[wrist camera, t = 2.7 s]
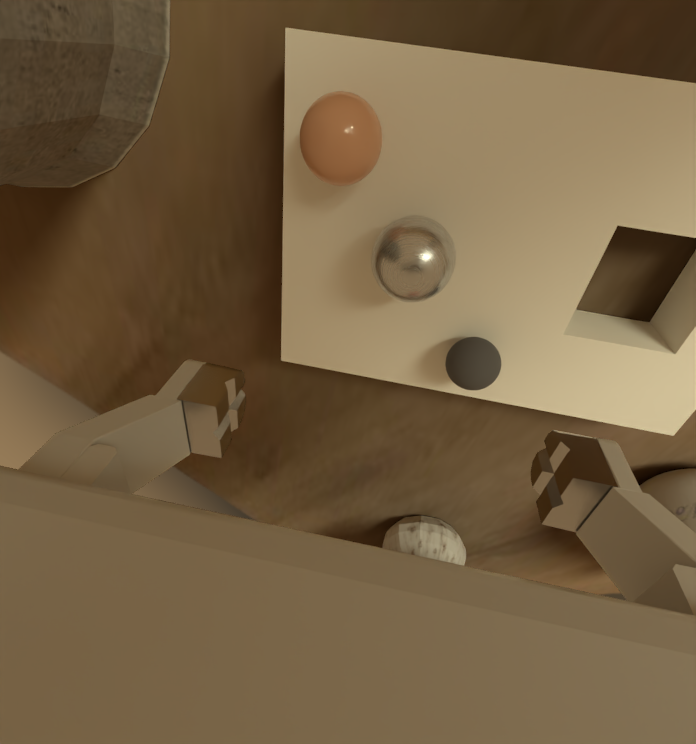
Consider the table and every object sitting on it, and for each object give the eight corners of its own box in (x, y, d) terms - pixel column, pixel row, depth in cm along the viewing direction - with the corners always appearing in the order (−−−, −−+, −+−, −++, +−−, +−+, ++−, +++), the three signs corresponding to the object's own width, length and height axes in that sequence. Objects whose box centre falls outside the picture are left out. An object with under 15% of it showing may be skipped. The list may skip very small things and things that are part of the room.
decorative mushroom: (406, 581, 48) (397, 751, 36) (328, 514, 43) (286, 688, 31) (522, 554, 41) (557, 752, 29) (446, 470, 36) (451, 671, 24)
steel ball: (463, 212, 20) (469, 240, 17) (443, 287, 23) (444, 324, 19) (382, 198, 20) (372, 224, 17) (370, 274, 23) (360, 309, 20)
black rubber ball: (505, 332, 24) (513, 362, 21) (488, 373, 25) (494, 406, 23) (452, 322, 24) (454, 351, 21) (439, 364, 26) (439, 395, 23)
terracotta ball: (392, 94, 18) (384, 100, 15) (379, 182, 20) (370, 201, 17) (312, 83, 18) (290, 87, 15) (308, 170, 20) (288, 187, 17)
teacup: (642, 436, 30) (697, 534, 24) (804, 461, 29) (905, 570, 23) (569, 540, 39) (596, 634, 33) (693, 563, 38) (745, 664, 32)
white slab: (864, 108, 18) (941, 116, 15) (650, 399, 29) (673, 435, 26) (306, 32, 20) (285, 27, 17) (295, 333, 30) (280, 360, 27)
